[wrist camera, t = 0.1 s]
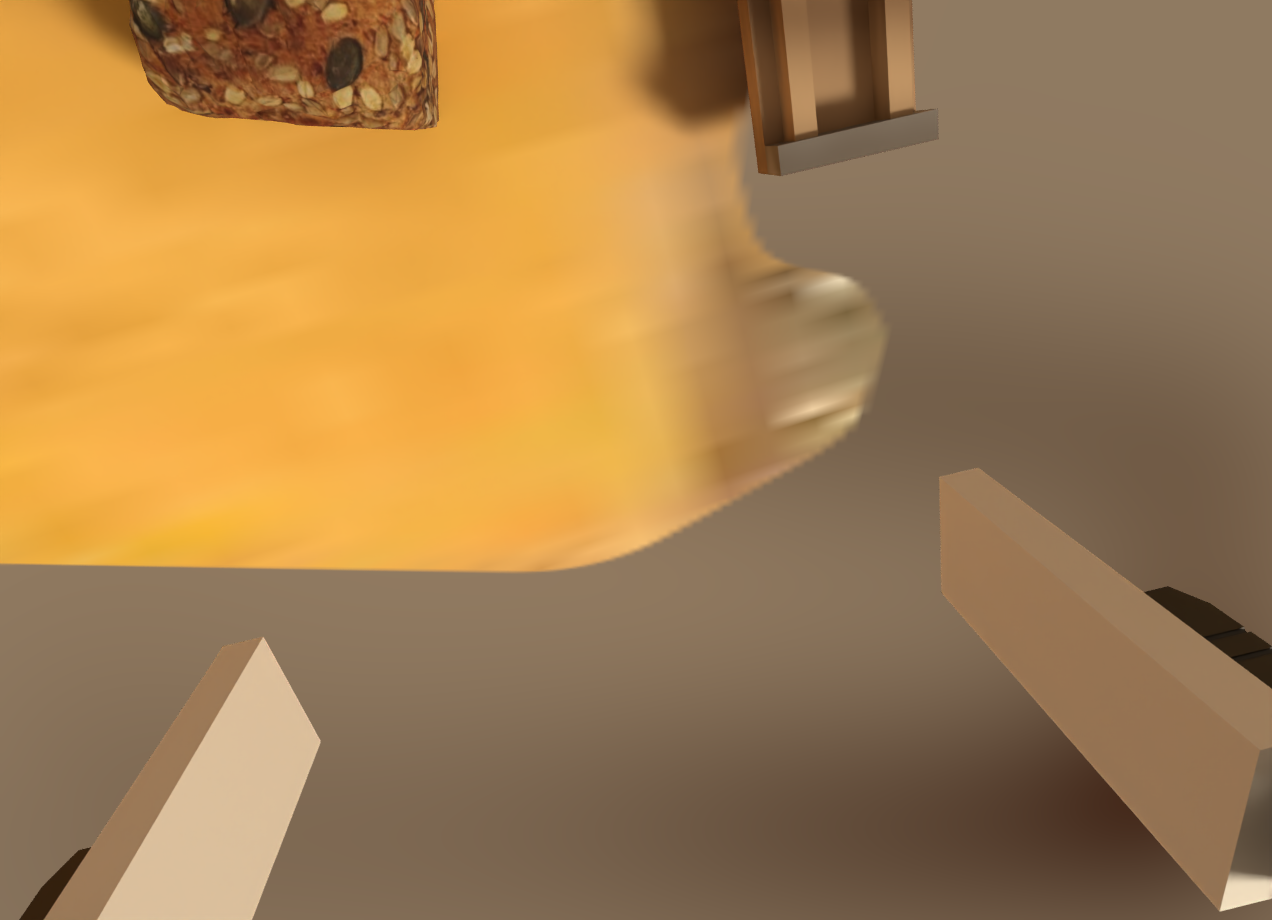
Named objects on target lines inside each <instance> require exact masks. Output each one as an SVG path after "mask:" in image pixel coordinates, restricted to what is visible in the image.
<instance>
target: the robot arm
mask: <svg viewBox="0 0 1272 920" xmlns="http://www.w3.org/2000/svg"><path fill="white" fill-rule="evenodd" d="M939 486H940V537H941V538H940V540H941V541H940V542H941V591H942V592H941V593H942V594H943V595H944V596H945V598H946V599H947V600H948V601H949V602H950V603H951V605H952V606H953V607H954V608H955V609H956V610H957V611H958V613H959V614H960V615H961V616H962V617H963V618H964V619H965V620H966V622H967V623H968V624H969V625H970V626H971V627H972V629H973V630H974V631H975V632H976V633H977V634H978V635H979V637H980V638H981V639H982V640H983V641H984V642H985V643H986V644H987V646H988V647H989V648H990V649H991V650H992V651H993V653H994V654H995V655H996V656H997V657H998V658H999V659H1000V661H1001V662H1002V663H1003V664H1004V665H1005V666H1006V667H1007V668H1008V670H1009V671H1010V672H1011V673H1012V674H1013V675H1014V677H1015V678H1016V679H1017V680H1018V681H1019V682H1020V683H1021V685H1022V686H1023V687H1024V688H1025V689H1026V690H1027V691H1028V693H1029V694H1030V695H1031V696H1032V697H1033V698H1034V699H1035V701H1036V702H1037V703H1038V704H1039V705H1040V706H1041V707H1042V709H1043V710H1044V711H1045V712H1046V713H1047V714H1048V715H1049V717H1050V718H1051V719H1052V720H1053V721H1054V722H1055V724H1057V726H1058V727H1059V728H1060V729H1061V730H1062V732H1063V733H1064V734H1065V735H1066V736H1067V737H1068V738H1069V740H1070V741H1071V742H1072V743H1073V744H1074V745H1075V746H1076V748H1077V749H1078V750H1079V751H1080V752H1081V753H1082V754H1083V756H1084V757H1085V758H1086V759H1087V760H1088V761H1089V762H1090V763H1091V765H1092V766H1093V767H1094V768H1095V769H1096V770H1097V772H1098V773H1099V774H1100V775H1101V776H1102V777H1103V778H1104V780H1105V781H1106V782H1107V783H1108V784H1109V785H1110V786H1111V788H1112V789H1113V790H1114V791H1115V792H1116V793H1117V795H1118V796H1119V797H1120V798H1121V799H1122V800H1123V801H1124V803H1125V804H1126V805H1127V806H1128V807H1129V808H1130V809H1131V811H1132V812H1133V813H1134V814H1135V815H1136V816H1137V817H1138V819H1139V820H1140V821H1141V822H1142V823H1143V824H1144V825H1145V827H1146V828H1147V829H1148V830H1149V831H1150V832H1151V833H1152V834H1153V836H1154V837H1155V838H1156V839H1157V840H1158V841H1159V843H1160V844H1161V845H1162V846H1163V847H1164V848H1165V849H1166V851H1167V852H1168V853H1169V854H1170V855H1171V856H1172V857H1173V859H1174V860H1175V861H1176V862H1177V863H1178V864H1179V865H1180V867H1181V868H1182V869H1183V870H1184V871H1185V872H1186V873H1187V875H1188V876H1189V877H1190V878H1191V879H1192V880H1193V881H1194V883H1195V884H1196V885H1197V886H1198V887H1199V888H1200V890H1201V891H1202V892H1203V893H1204V894H1205V895H1206V896H1207V898H1208V899H1209V900H1210V901H1211V902H1212V903H1213V904H1214V906H1215V907H1216V908H1217V909H1218V910H1219V911H1223V910H1227V909H1231V908H1235V907H1239V906H1243V905H1247V904H1252V903H1256V902H1260V901H1264V900H1268V899H1272V646H1271V645H1269V644H1268V643H1266V642H1265V641H1264V640H1262V639H1261V638H1259V637H1258V636H1256V635H1255V634H1253V633H1252V632H1248V633H1247V632H1246V631H1245V629H1244V627H1243V626H1242V625H1240V624H1239V623H1238V622H1236V621H1235V620H1233V619H1232V618H1230V617H1229V616H1227V615H1226V614H1225V613H1223V612H1222V611H1220V610H1219V609H1217V608H1216V607H1215V606H1213V605H1212V604H1210V603H1208V602H1205V601H1203V600H1200V599H1198V598H1195V597H1193V596H1190V595H1188V594H1186V593H1183V592H1181V591H1178V590H1175V589H1173V588H1171V587H1168V586H1167V587H1163V588H1159V589H1155V590H1151V591H1147V592H1142V591H1141V590H1140V589H1139V588H1137V587H1136V586H1135V585H1133V584H1132V583H1131V582H1129V581H1128V580H1127V579H1125V578H1124V577H1123V576H1121V575H1120V574H1119V573H1117V572H1116V571H1114V570H1113V569H1112V568H1111V567H1109V566H1108V565H1107V564H1105V563H1104V562H1103V561H1101V560H1100V559H1098V558H1097V557H1096V556H1095V555H1093V554H1092V553H1091V552H1089V551H1088V550H1087V549H1085V548H1084V547H1083V546H1081V545H1080V544H1079V543H1077V542H1076V541H1075V540H1073V539H1072V538H1071V537H1069V536H1068V535H1067V534H1065V533H1064V532H1063V531H1061V530H1060V529H1059V528H1057V527H1056V526H1055V525H1053V524H1052V523H1051V522H1050V521H1048V520H1047V519H1046V518H1044V517H1043V516H1042V515H1040V514H1039V513H1038V512H1036V511H1035V510H1034V509H1032V508H1031V507H1030V506H1028V505H1027V504H1026V503H1024V502H1023V501H1022V500H1020V499H1019V498H1018V497H1016V496H1015V495H1014V494H1012V493H1011V492H1010V491H1008V490H1007V489H1006V488H1004V487H1003V486H1002V485H1000V484H999V483H998V482H996V481H995V480H994V479H992V478H991V477H990V476H988V475H987V474H986V473H984V472H983V471H982V470H980V469H979V468H975V469H970V470H966V471H962V472H958V473H954V474H949V475H945V476H941V477H939ZM320 742H321V741H320V739H319V738H318V736H317V734H316V732H315V730H314V728H313V726H312V725H311V723H310V721H309V719H308V717H307V716H306V714H305V712H304V710H303V708H302V707H301V705H300V703H299V701H298V699H297V697H296V695H295V694H294V692H293V690H292V688H291V686H290V685H289V683H288V681H287V679H286V677H285V675H284V674H283V672H282V670H281V668H280V666H279V664H278V663H277V661H276V659H275V657H274V655H273V654H272V652H271V650H270V648H269V646H268V644H267V643H266V641H265V639H264V637H260V638H256V639H252V640H247V641H243V642H239V643H235V644H231V645H226V646H223V648H222V649H221V650H220V652H219V653H218V655H217V656H216V658H215V660H214V661H213V663H212V664H211V666H210V667H209V669H208V670H207V672H206V673H205V675H204V676H203V678H202V679H201V681H200V682H199V684H198V685H197V687H196V688H195V690H194V692H193V693H192V695H191V696H190V698H189V699H188V701H187V702H186V704H185V705H184V707H183V708H182V710H181V711H180V713H179V714H178V716H177V717H176V719H175V721H174V722H173V723H172V725H171V727H170V728H169V730H168V731H167V733H166V734H165V736H164V737H163V739H162V740H161V742H160V743H159V745H158V746H157V748H156V750H155V751H154V752H153V754H152V756H151V757H150V759H149V760H148V762H147V763H146V765H145V766H144V768H143V769H142V771H141V772H140V774H139V775H138V777H137V778H136V780H135V782H134V783H133V784H132V786H131V788H130V789H129V791H128V792H127V794H126V795H125V797H124V798H123V800H122V801H121V803H120V804H119V806H118V807H117V809H116V810H115V812H114V813H113V815H112V817H111V818H110V820H109V821H108V823H107V824H106V826H105V827H104V829H103V830H102V832H101V833H100V835H99V836H98V838H97V839H96V841H95V842H94V844H93V846H92V847H90V848H86V849H82V850H79V851H78V852H77V853H76V854H74V856H72V857H71V858H70V860H69V861H67V862H66V863H65V865H63V866H62V867H61V868H60V869H59V870H58V871H57V873H55V875H54V876H52V877H51V878H50V879H49V880H48V881H47V883H46V884H45V885H44V886H43V887H42V888H41V889H40V891H39V892H38V894H37V895H36V896H35V898H34V899H33V901H32V902H31V904H30V905H29V907H28V908H27V910H26V911H25V912H24V914H23V915H22V917H21V918H20V920H252V918H253V915H254V913H255V910H256V908H257V905H258V902H259V900H260V897H261V895H262V892H263V890H264V887H265V884H266V882H267V879H268V876H269V874H270V871H271V869H272V866H273V864H274V861H275V858H276V856H277V853H278V851H279V848H280V846H281V843H282V840H283V838H284V835H285V833H286V830H287V828H288V825H289V822H290V820H291V817H292V815H293V812H294V809H295V807H296V804H297V802H298V799H299V797H300V794H301V791H302V789H303V786H304V783H305V781H306V778H307V776H308V773H309V771H310V768H311V766H312V763H313V760H314V758H315V755H316V752H317V750H318V747H319V745H320Z"/></svg>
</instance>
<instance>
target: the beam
mask: <svg viewBox="0 0 1272 920" xmlns="http://www.w3.org/2000/svg"><path fill="white" fill-rule="evenodd" d="M737 3H738V11H739V20H740V28H741V36H742V44H743V52H744V60H745V68H746V76H747V84H748V92H749V100H750V108H751V116H752V124H753V132H754V139H755V148H756V156H757V164H758V172H759V173H761V174H769V175H777V176H783V175H788V174H792V173H796V172H800V171H804V170H809V169H813V168H818V167H822V166H826V165H830V164H835V163H839V162H843V161H847V160H851V159H856V158H860V157H865V156H869V155H873V154H877V153H881V152H886V151H890V150H894V149H899V148H903V147H907V146H911V145H915V144H920V143H924V142H928V141H932V140H937V139H939V138H938V109H929V110H919V111H916V109H915V79H914V52H913V51H914V50H913V49H914V48H913V21H912V20H913V18H912V0H737Z"/></svg>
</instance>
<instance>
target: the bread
mask: <svg viewBox="0 0 1272 920" xmlns="http://www.w3.org/2000/svg"><path fill="white" fill-rule="evenodd" d="M129 3H130V28H131V31H132V33H133V36H134V39H135V42H136V45H137V48H138V51H139V54H140V57H141V61H142V66H143V68H144V71H145V73H146V77H147V80H148V83H149V84H150V85H151V86H152V88H153V89H154V90H155V91H156V92H157V94H158V95H159V96H160V97H161V98H162V99H163V100H164V101H165V102H166V104H169V105H173V106H175V107H177V108H179V109H180V110H182V111H186V112H189V113H193V114H198V115H202V116H206V117H213V118H242V119H254V120H268V121H277V122H286V123H291V124H295V125H305V126H330V127H357V128H371V129H399V130H417V129H426V128H432V127H437V122H438V121H439V112H438V67H437V42H436V23H435V12H434V0H129Z"/></svg>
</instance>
